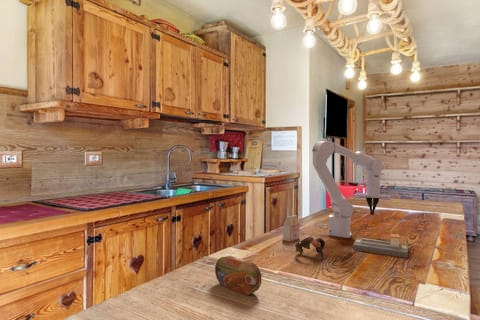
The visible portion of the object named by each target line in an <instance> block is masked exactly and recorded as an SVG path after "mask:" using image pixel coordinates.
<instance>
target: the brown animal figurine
mask: <svg viewBox="0 0 480 320" xmlns="http://www.w3.org/2000/svg"><path fill="white" fill-rule="evenodd" d="M325 242H326V241H325V239H323V238H321V237H318V238H316V239H314V237H313V236H308V237H306V238H304V239H301V240H300V242H296V243H295V244H294V246H295V252H299V253H300V254H302V253H303V252H304V249H307V250H311V247H310V246H311V245H312V246H313V247H314V248H315V252H316V253H317V254H316V255H315V258H316V260H317V262H319V261H322V260H323V259H324V258H325V257H324V253H323V250H324V249H325V246H326V243H325ZM303 248H304V249H303Z"/></svg>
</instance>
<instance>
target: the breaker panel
mask: <svg viewBox="0 0 480 320" xmlns="http://www.w3.org/2000/svg"><path fill="white" fill-rule="evenodd" d="M354 240H355V241H354V242H353V244H352V250H353V251H360V252H366V253H371V254H380V255H385V256H386V255H387V256H393V257H400V258H404V259H405V258H406V259H408V258H409V249H408V248H409V246H408V243H403V242H399V247H396V246H390V241H387V240H380V239H372V238H366V237H365V238H364V237H357V236H356V239H354Z"/></svg>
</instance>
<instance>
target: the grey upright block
mask: <svg viewBox="0 0 480 320" xmlns="http://www.w3.org/2000/svg"><path fill="white" fill-rule="evenodd" d="M300 227H301V224H300V221H299V219H298V215H296V214H295V215H290V216H287V217H286V219H285V222H284V223H283V226H282V229H283V230H282V241H285V240H286V242H290V241H291V242H293V241H297V240H300V234H301V233H300V232H301V231H300Z"/></svg>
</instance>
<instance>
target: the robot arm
mask: <svg viewBox="0 0 480 320" xmlns="http://www.w3.org/2000/svg"><path fill="white" fill-rule="evenodd" d="M311 151H312V165H313V167H314V170H315V171H316V173H317V175H318V177H319V179H320V181H321V182H322V184H323V186H324V189H325V190H326V192H327V193H328V196H329V197H330V199H329V201H330V203H331V209H332V211H333V214H329V216H328V219H327V220H328V222H327V225H328V226H327V236H332V237H338V238H346V239H350V238H351V237H352V234H353V233H352V232H351V215H353V212H354V206H353V205H352V204H351V203H350V202H349V201H348V199H347V198H346V197H345V196H344V195H343V194H342V192H341V189H340V187H339V186H338V184H337V182H336V180H335V178H334V177H333V174H332V173H331V171H330V169H329V167H328V165H327V163H328V160H329V158H330V157H331V155H333V154H338V155H341V156H343V157H346V158H348V159H351V161H352V163H353V164H355V165H357V166H359V167H362V168H364V169H365V170H366V184H365V185H366V186H365V187H366V189H365V193H364V192H362V193H361V192H360V193H359V192H356V193H355V198H357V199H358V198H361V199H365V200H366V202H367V205H368V208H369V213H370V215H372V216H374V215H375V210H376V207H377V205H378V204H379V202H380V200H387V201H391V195H390V194H380V193H381V192H380V191H381V174H382V173H381V172H382V170H383V168H384V165H385V164H383V162H382V160H380V159H379V158H374V156H373V155H368V154H366V153H365V152H364V151H363V150H362V151H352V150H350V149H348V148H346V147H344V146H342V145H340V144H338V143H336V142H333V141H330V140H324V141H322V140H321V141H320V140H318V141H316V142H315V143H314V145H313V146H312V149H311Z"/></svg>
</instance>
